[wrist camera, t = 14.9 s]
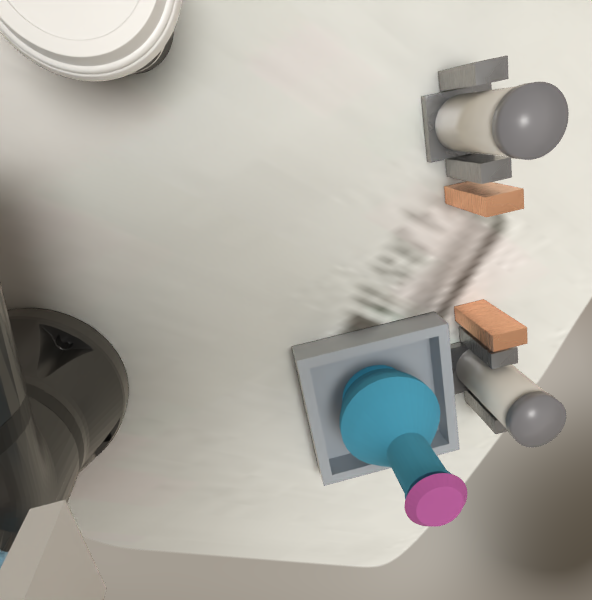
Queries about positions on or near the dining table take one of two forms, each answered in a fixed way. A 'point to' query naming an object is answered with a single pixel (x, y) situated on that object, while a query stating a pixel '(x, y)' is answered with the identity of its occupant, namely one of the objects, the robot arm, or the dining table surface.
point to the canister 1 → (504, 121)
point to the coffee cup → (91, 35)
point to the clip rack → (486, 202)
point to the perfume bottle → (401, 440)
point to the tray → (363, 353)
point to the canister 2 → (513, 400)
